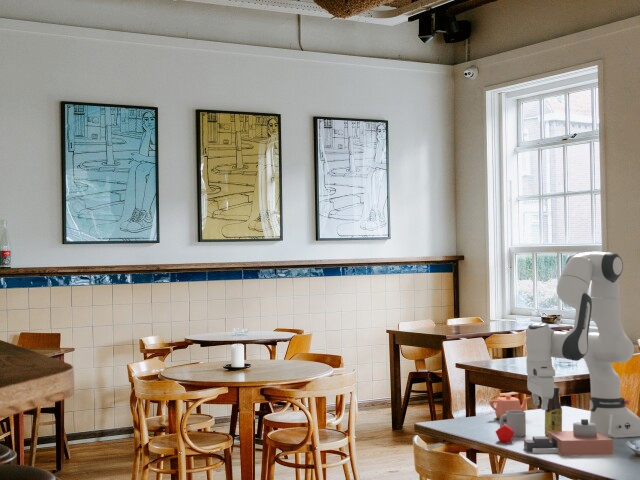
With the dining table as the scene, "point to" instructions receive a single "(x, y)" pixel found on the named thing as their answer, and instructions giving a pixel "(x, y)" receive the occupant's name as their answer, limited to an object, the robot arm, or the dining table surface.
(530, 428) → the dining table surface
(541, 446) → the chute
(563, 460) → the dining table surface
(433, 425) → the dining table surface
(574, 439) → the pink box with knob
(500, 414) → the teapot
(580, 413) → the dining table surface
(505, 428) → the red pentagonal block
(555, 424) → the sauce bottle
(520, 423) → the cup
